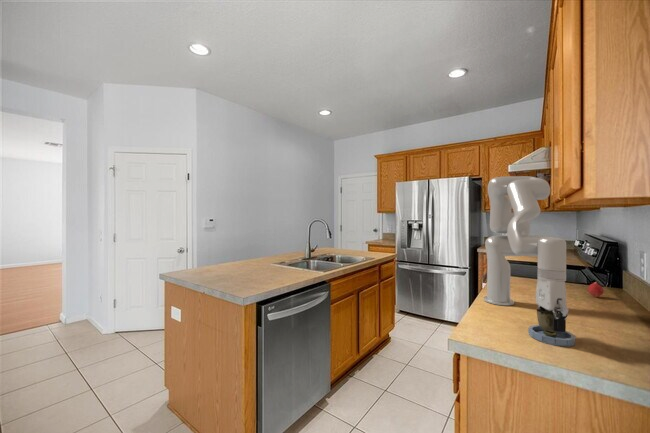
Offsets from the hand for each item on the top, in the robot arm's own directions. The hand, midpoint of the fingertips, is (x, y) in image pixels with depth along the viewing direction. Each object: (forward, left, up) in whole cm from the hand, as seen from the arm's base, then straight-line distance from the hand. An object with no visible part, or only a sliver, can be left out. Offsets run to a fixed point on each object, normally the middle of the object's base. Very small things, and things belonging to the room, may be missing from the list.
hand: (551, 325), depth 95 cm
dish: (0, 0, -4) cm, 4 cm away
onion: (-63, +48, -4) cm, 79 cm away
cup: (0, 0, -4) cm, 4 cm away
